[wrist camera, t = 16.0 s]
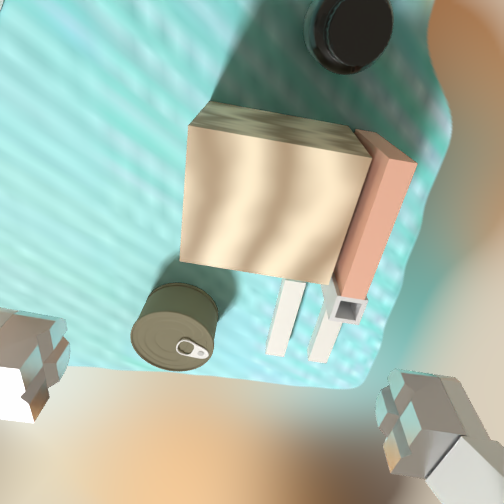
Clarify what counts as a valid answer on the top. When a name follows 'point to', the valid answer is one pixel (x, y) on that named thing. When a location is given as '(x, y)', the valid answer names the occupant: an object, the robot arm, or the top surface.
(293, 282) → the door stand
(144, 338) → the can
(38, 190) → the top surface
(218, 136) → the cabinet
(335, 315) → the door
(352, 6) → the supplement bottle
